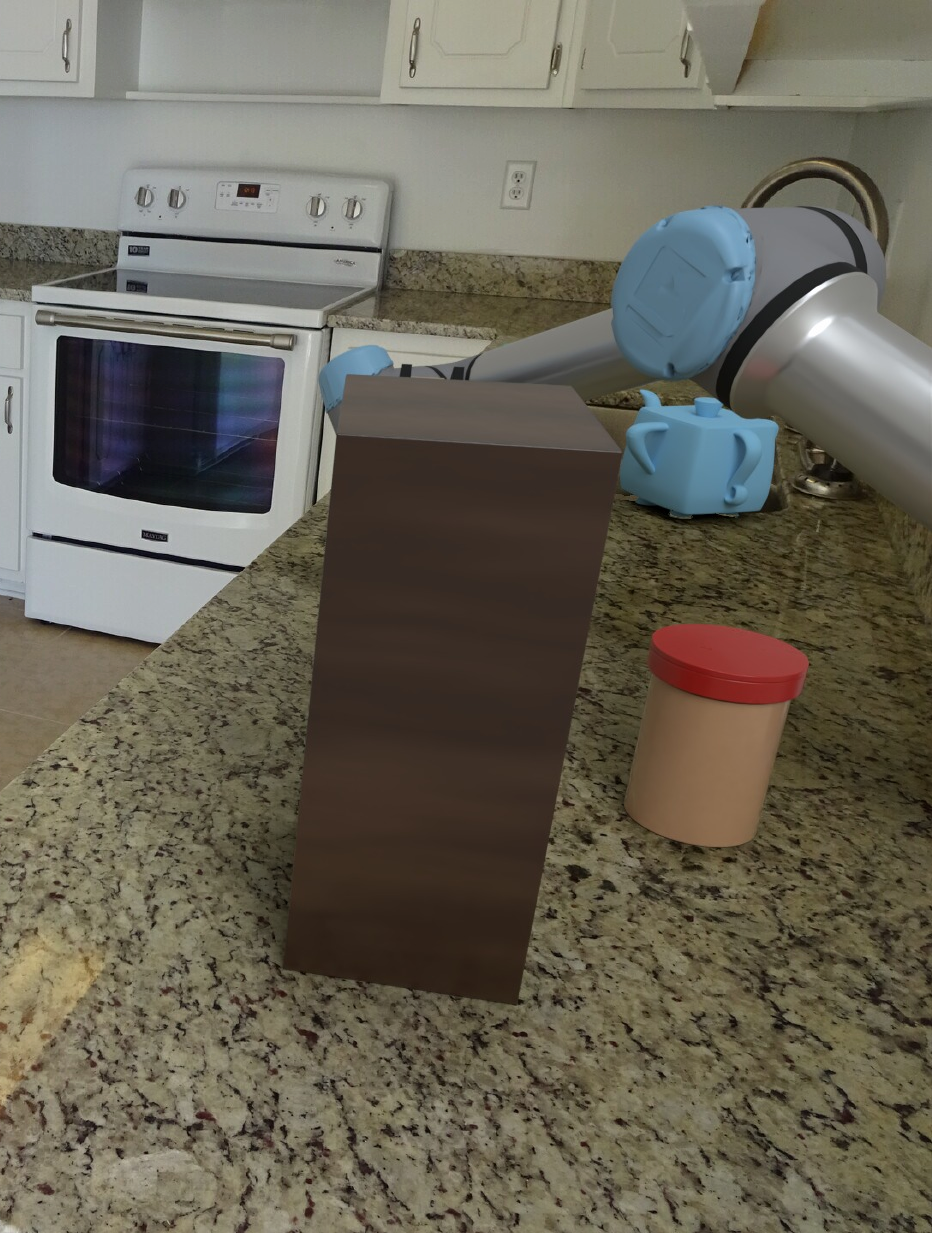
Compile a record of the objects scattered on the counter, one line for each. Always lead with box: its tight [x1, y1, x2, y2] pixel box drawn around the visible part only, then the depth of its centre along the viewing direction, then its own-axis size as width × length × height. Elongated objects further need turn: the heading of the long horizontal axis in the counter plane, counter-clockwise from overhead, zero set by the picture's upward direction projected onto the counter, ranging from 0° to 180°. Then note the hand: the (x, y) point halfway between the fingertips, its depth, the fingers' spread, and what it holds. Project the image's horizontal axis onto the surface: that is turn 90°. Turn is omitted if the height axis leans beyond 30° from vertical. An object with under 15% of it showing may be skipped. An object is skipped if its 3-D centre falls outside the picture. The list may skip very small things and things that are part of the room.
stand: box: [282, 374, 624, 1005], centre depth 67 cm, size 16×12×29 cm
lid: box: [646, 623, 810, 704], centre depth 78 cm, size 9×9×2 cm
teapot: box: [619, 389, 780, 517], centre depth 151 cm, size 18×16×14 cm
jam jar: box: [623, 672, 792, 848], centre depth 80 cm, size 8×8×12 cm
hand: (431, 383), depth 92 cm, fingers closed on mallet, 3 cm apart
